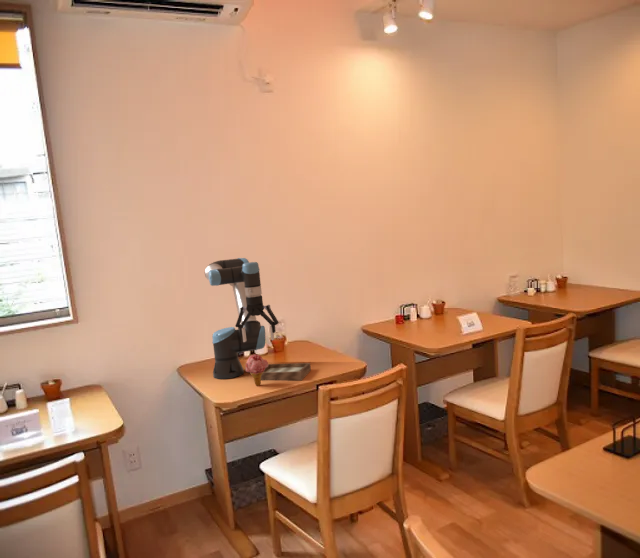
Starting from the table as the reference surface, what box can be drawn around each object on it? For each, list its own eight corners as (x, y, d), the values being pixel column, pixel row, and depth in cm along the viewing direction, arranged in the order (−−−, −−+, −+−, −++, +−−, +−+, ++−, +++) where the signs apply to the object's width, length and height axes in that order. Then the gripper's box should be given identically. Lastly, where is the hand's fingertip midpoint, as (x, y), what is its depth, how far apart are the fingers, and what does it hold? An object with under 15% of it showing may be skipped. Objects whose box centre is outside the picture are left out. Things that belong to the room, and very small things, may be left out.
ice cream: (250, 390, 255) (246, 358, 254) (245, 385, 265) (242, 354, 263) (273, 386, 259) (270, 354, 258) (267, 381, 268) (264, 350, 267)
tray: (258, 381, 270) (257, 373, 270) (269, 371, 285) (268, 364, 285) (301, 380, 264) (300, 372, 264) (310, 370, 280) (310, 362, 279)
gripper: (225, 298, 258) (230, 344, 260) (277, 295, 253) (282, 340, 256) (230, 296, 265) (235, 340, 268) (281, 292, 261) (286, 337, 263)
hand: (258, 340), depth 262 cm, fingers open, 13 cm apart
